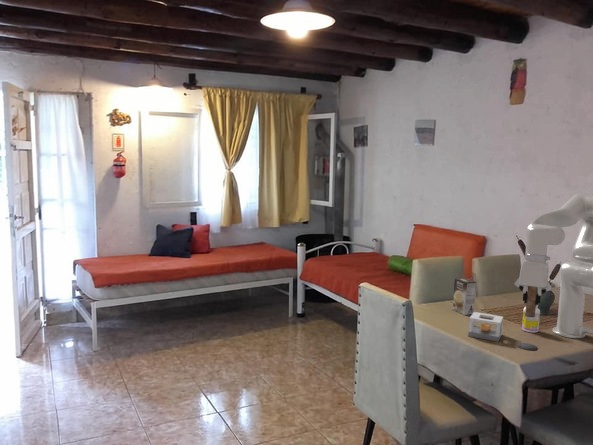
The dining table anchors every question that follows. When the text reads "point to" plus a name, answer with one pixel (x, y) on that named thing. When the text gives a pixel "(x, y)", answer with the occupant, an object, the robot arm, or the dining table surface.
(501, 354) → the dining table surface
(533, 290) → the brown wooden rod
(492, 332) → the white hollow box
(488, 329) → the orange hemisphere
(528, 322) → the supplement bottle
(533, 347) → the mat
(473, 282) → the coffee box
